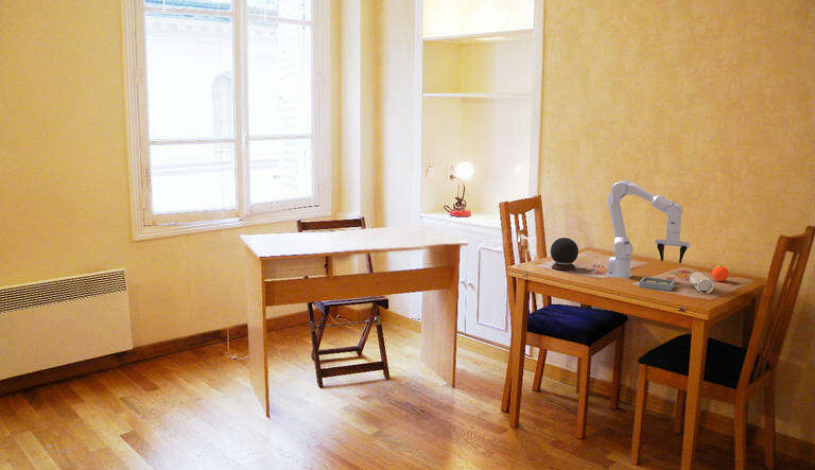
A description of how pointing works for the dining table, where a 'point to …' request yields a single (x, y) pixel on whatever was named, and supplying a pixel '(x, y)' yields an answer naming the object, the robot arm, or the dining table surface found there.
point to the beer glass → (701, 282)
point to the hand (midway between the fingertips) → (671, 261)
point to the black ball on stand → (564, 254)
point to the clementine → (720, 273)
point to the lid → (670, 277)
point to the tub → (657, 286)
